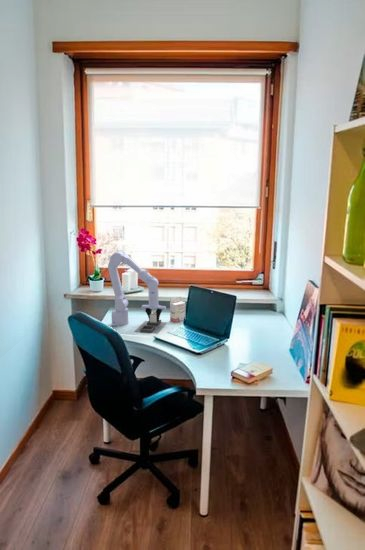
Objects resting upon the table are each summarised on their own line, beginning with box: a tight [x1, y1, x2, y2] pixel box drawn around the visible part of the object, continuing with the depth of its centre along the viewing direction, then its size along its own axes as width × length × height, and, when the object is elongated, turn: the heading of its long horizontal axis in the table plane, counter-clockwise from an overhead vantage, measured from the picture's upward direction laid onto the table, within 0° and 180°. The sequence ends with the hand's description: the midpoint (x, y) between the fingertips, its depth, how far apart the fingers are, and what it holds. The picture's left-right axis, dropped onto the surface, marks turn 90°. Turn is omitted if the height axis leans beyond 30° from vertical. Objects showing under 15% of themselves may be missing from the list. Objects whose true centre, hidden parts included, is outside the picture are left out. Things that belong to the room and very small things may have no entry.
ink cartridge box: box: [169, 296, 186, 323], centre depth 248 cm, size 9×5×15 cm, turn 130°
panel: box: [133, 319, 168, 335], centre depth 237 cm, size 14×20×2 cm
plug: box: [150, 311, 158, 323], centre depth 242 cm, size 4×4×7 cm
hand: (154, 320), depth 242 cm, fingers closed on plug, 4 cm apart
